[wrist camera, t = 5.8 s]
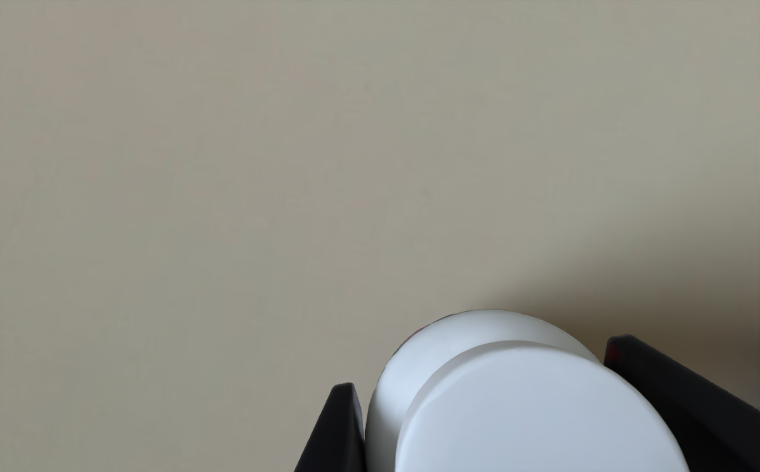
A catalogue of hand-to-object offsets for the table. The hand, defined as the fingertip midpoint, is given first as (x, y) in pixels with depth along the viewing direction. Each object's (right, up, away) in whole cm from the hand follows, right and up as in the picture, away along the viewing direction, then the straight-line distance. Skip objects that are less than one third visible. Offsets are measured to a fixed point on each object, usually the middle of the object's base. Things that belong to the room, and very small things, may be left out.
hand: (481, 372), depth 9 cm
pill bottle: (+1, -3, +6) cm, 7 cm away
